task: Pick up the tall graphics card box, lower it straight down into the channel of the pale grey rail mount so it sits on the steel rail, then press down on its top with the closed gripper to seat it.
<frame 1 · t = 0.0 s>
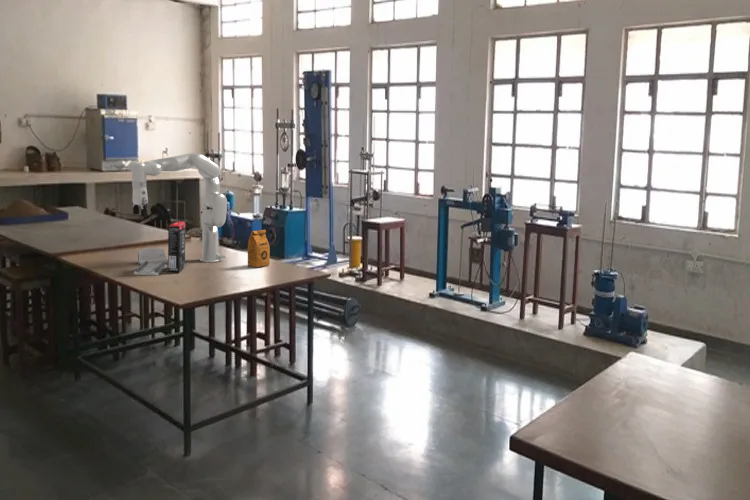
hand: (140, 215, 384), 31 cm above the table, tool pointing down, fingers open, 9 cm apart
rail mount: (151, 270, 386), on the table
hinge: (152, 263, 409), on the table
coffee package: (258, 266, 410), on the table
graphics card box: (177, 270, 391), on the table
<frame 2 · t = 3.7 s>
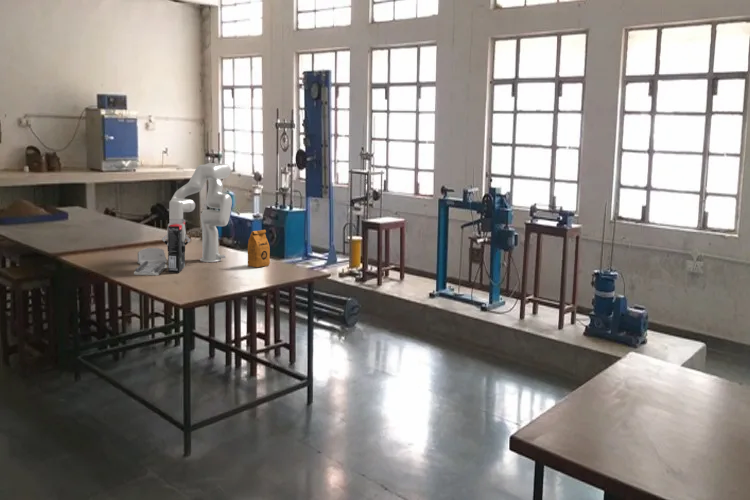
hand: (176, 252, 388), 11 cm above the table, tool pointing down, fingers open, 6 cm apart
graphics card box: (177, 270, 391), on the table, touching gripper
everything else where it was.
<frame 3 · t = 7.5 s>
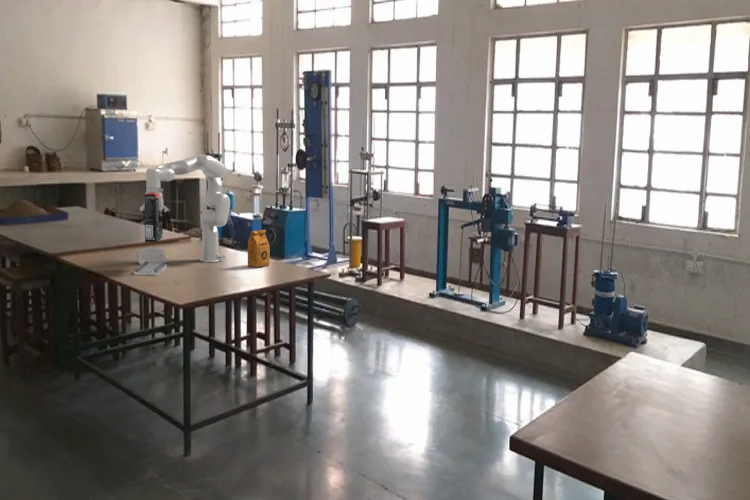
hand: (153, 222, 382), 28 cm above the table, tool pointing down, fingers closed on graphics card box, 6 cm apart
graphics card box: (154, 240, 384), point 17 cm above the table, touching gripper
everything else where it was.
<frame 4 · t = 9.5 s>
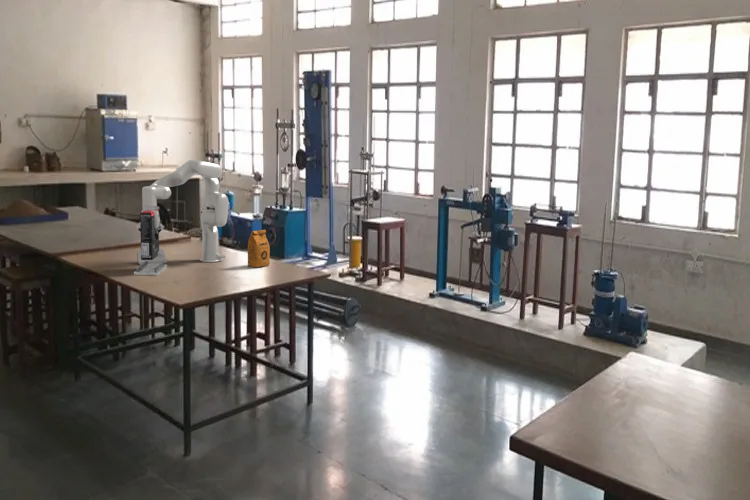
hand: (150, 239, 383), 18 cm above the table, tool pointing down, fingers closed on graphics card box, 6 cm apart
graphics card box: (150, 258, 386), point 7 cm above the table, touching gripper
everything else where it was.
when the fingers open (13 cm above the table, at t = 11.1 s): graphics card box stays where it is, resting on rail mount.
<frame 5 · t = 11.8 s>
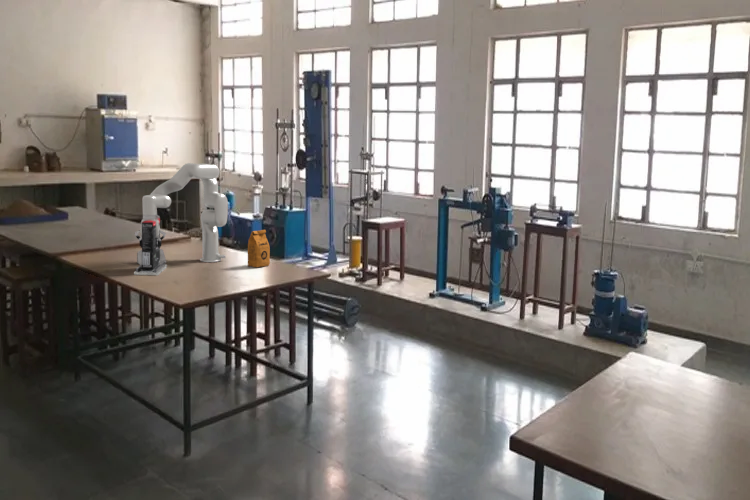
hand: (150, 247, 384), 14 cm above the table, tool pointing down, fingers open, 9 cm apart
graphics card box: (151, 267, 387), point 2 cm above the table, touching rail mount
everything else where it was.
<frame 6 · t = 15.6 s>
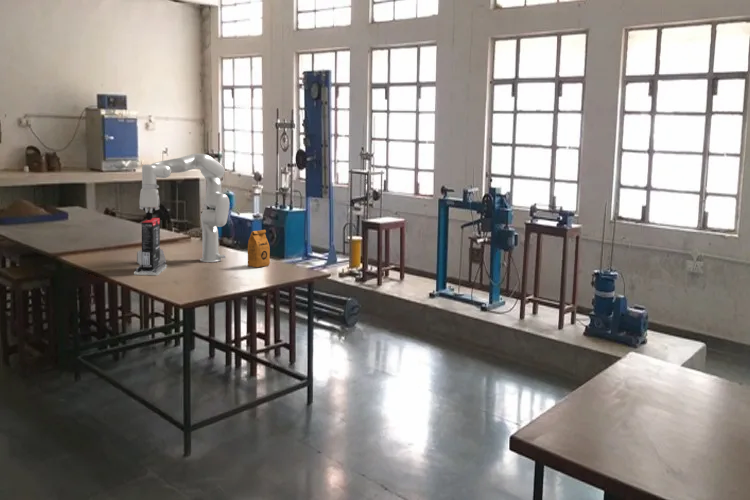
hand: (149, 219, 381), 29 cm above the table, tool pointing down, fingers closed
graphics card box: (151, 267, 387), point 2 cm above the table, touching gripper, rail mount
everything else where it was.
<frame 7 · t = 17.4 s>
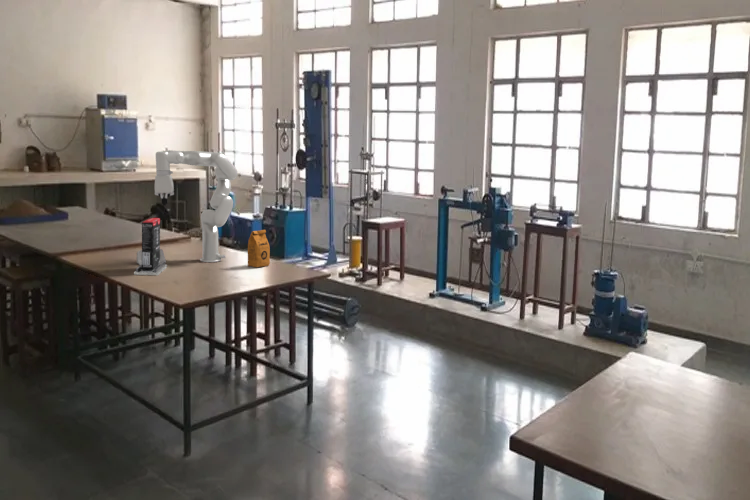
hand: (164, 205, 392), 36 cm above the table, tool pointing down, fingers closed
graphics card box: (151, 267, 387), point 2 cm above the table, touching rail mount
everything else where it was.
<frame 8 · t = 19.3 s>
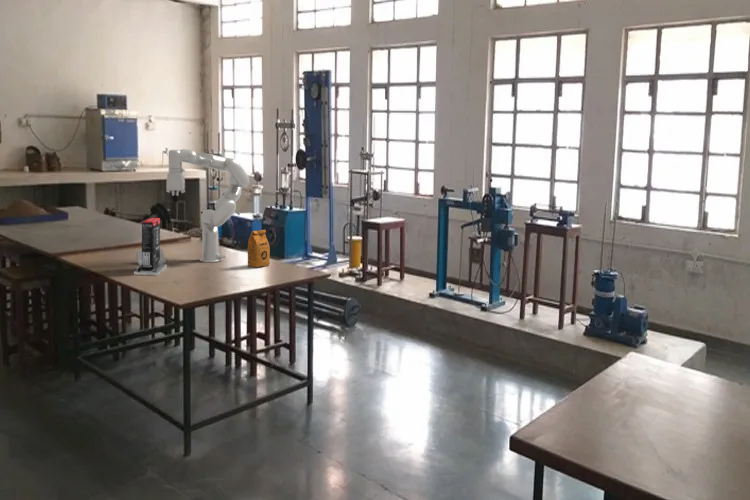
hand: (175, 202, 401), 37 cm above the table, tool pointing down, fingers closed
nothing on the table moved.
at the end: graphics card box 0.7 cm off-centre on the rail mount, point 1.9 cm above the rail mount's base; graphics card box tilted 0°; the gripper is holding nothing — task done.
